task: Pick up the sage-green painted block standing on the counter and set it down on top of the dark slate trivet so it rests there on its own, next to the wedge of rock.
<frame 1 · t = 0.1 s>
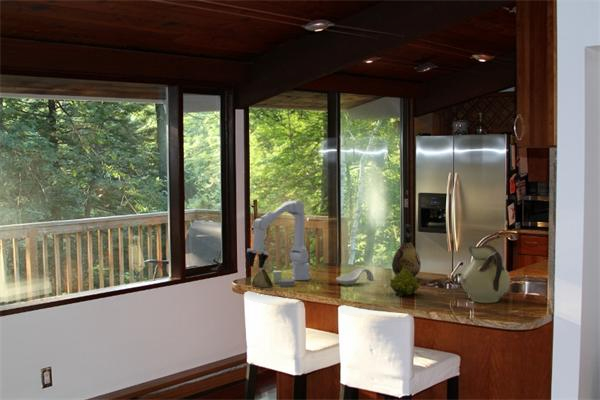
hand: (255, 267, 381), 11 cm above the counter, tool pointing down, fingers open, 7 cm apart
pitcher: (486, 300, 338), on the counter
trivet: (286, 285, 386), on the counter
vegetable: (405, 294, 356), on the counter
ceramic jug: (406, 279, 397), on the counter
rock: (262, 286, 384), on the counter
block: (277, 282, 395), on the counter
spoon rest: (355, 283, 389), on the counter
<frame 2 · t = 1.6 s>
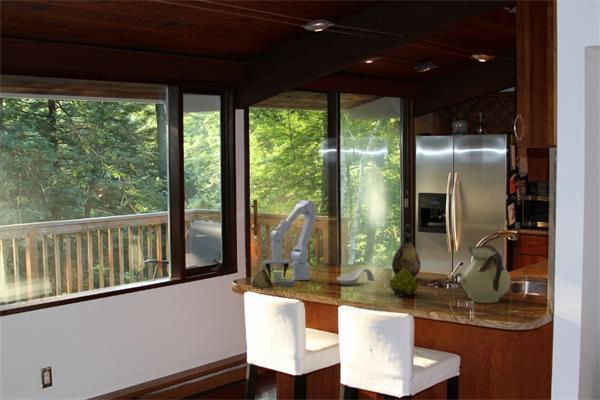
hand: (277, 277, 395), 3 cm above the counter, tool pointing down, fingers open, 7 cm apart
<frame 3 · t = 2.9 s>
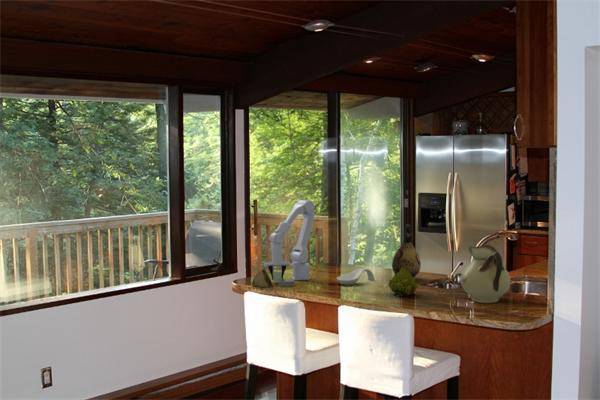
hand: (277, 279, 395), 1 cm above the counter, tool pointing down, fingers closed on block, 4 cm apart
block: (277, 282, 395), on the counter, touching gripper
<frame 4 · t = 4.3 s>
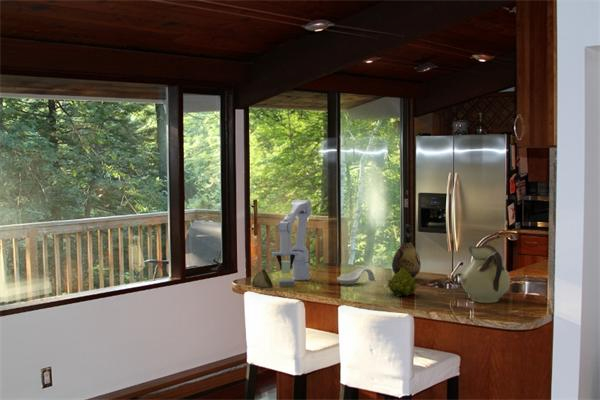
hand: (285, 269, 386), 8 cm above the counter, tool pointing down, fingers closed on block, 4 cm apart
block: (285, 272, 386), point 7 cm above the counter, touching gripper
when the fingers open (5 cm above the counter, at t = 5.7 s): block drops 1 cm, point 3 cm above the counter.
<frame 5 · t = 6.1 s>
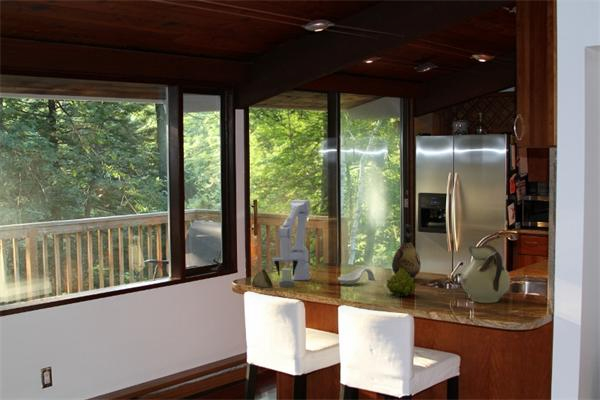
hand: (286, 275, 386), 5 cm above the counter, tool pointing down, fingers open, 7 cm apart
block: (286, 280, 386), point 3 cm above the counter
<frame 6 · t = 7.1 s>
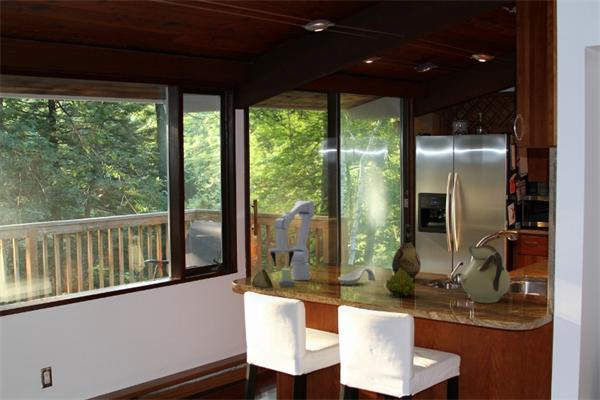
hand: (282, 265, 388), 10 cm above the counter, tool pointing down, fingers open, 7 cm apart
trivet: (286, 285, 386), on the counter, touching block
block: (286, 280, 386), point 3 cm above the counter, touching trivet
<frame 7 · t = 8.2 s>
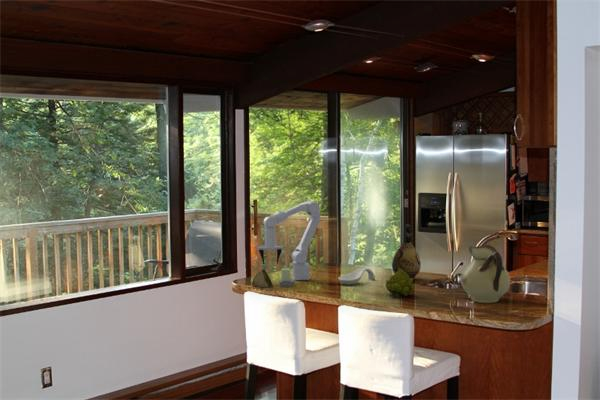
hand: (270, 263, 398), 10 cm above the counter, tool pointing down, fingers open, 7 cm apart
trivet: (286, 286, 386), on the counter
block: (286, 280, 386), point 3 cm above the counter
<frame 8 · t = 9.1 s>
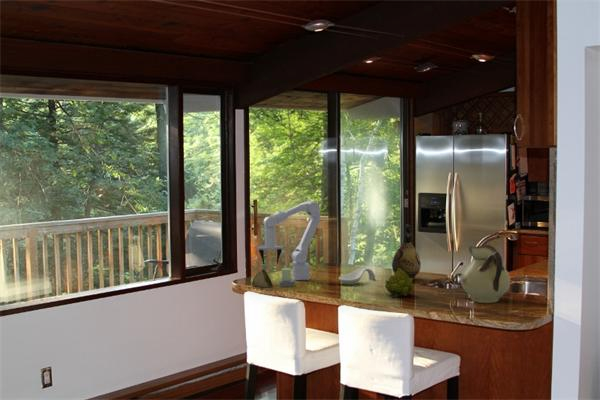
hand: (270, 263, 398), 10 cm above the counter, tool pointing down, fingers open, 7 cm apart
at the end: block inside the target area on the trivet (0.7 cm from its centre), point 3.1 cm above the trivet's base; block tilted 2°; the gripper is holding nothing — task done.
